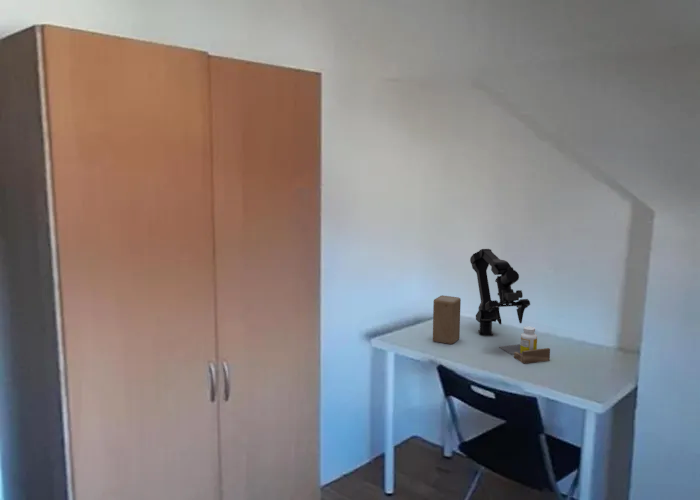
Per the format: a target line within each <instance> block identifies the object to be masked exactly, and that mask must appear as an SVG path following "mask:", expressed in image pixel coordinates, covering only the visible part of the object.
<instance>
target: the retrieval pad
mask: <svg viewBox="0 0 700 500" xmlns="http://www.w3.org/2000/svg"><path fill="white" fill-rule="evenodd" d="M520 346H521V344H512V345H510V344H508V345H502V346H499V349H500V350H503V351H504V352H506V353H508V354H510V355H511V356H514V352H518V353H520Z"/></svg>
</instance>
